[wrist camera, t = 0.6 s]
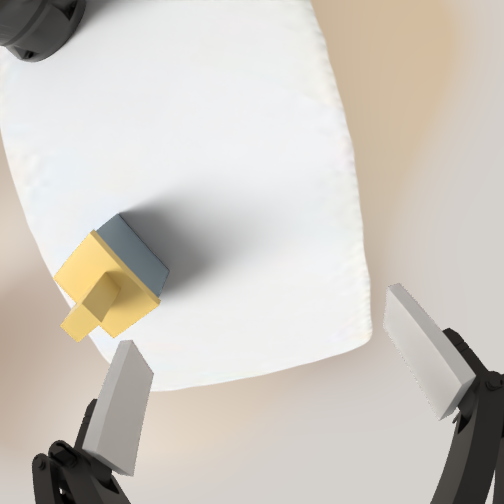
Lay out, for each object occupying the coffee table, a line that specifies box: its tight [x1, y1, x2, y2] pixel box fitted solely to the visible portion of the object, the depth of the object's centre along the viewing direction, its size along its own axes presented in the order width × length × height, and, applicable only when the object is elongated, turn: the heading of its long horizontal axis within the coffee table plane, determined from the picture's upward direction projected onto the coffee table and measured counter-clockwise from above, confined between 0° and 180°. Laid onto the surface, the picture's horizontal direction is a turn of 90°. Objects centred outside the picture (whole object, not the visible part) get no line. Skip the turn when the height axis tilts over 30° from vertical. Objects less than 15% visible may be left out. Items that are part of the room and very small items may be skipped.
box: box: [96, 214, 169, 298], centre depth 36 cm, size 12×10×8 cm
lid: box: [53, 230, 161, 342], centre depth 29 cm, size 13×11×9 cm
